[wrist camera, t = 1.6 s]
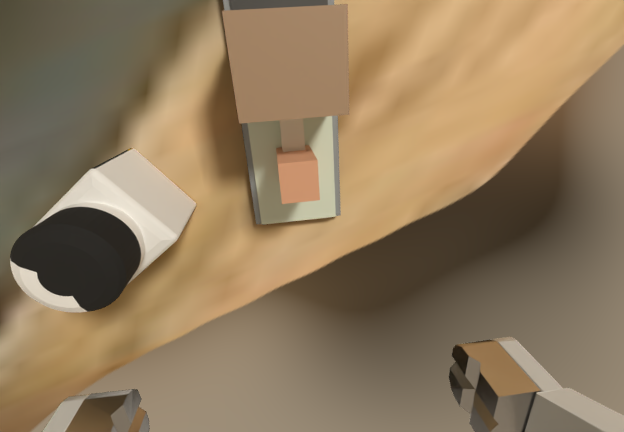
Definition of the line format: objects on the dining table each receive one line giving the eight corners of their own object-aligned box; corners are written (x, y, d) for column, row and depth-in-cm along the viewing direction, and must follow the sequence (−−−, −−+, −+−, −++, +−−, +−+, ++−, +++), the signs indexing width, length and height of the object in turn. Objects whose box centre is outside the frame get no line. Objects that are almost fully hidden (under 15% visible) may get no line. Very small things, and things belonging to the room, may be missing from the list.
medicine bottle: (133, 145, 27) (40, 193, 16) (198, 203, 30) (157, 278, 19) (79, 199, 28) (-41, 277, 17) (146, 250, 31) (80, 346, 20)
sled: (255, 25, 23) (252, 12, 19) (307, 22, 24) (317, 8, 19) (274, 182, 28) (275, 204, 23) (316, 178, 29) (326, 199, 24)
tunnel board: (219, -36, 23) (197, -84, 16) (330, -40, 23) (355, -89, 17) (256, 219, 31) (253, 261, 24) (338, 211, 32) (357, 249, 25)
